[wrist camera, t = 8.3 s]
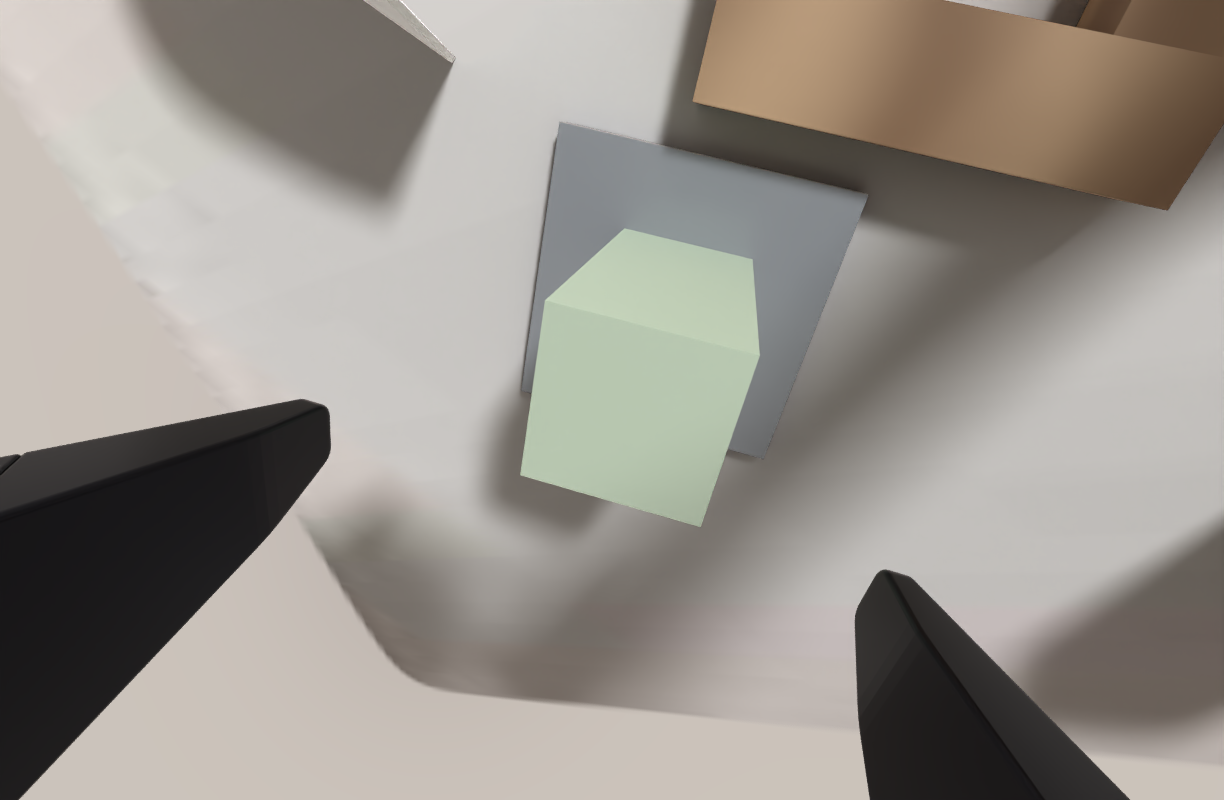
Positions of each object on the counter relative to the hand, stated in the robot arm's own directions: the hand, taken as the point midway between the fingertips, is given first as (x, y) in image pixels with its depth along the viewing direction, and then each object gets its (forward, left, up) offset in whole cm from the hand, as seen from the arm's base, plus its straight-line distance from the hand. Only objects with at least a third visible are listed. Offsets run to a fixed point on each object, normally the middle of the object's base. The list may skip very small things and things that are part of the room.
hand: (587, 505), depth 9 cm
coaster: (0, 0, -11) cm, 11 cm away
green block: (0, 0, -11) cm, 11 cm away
